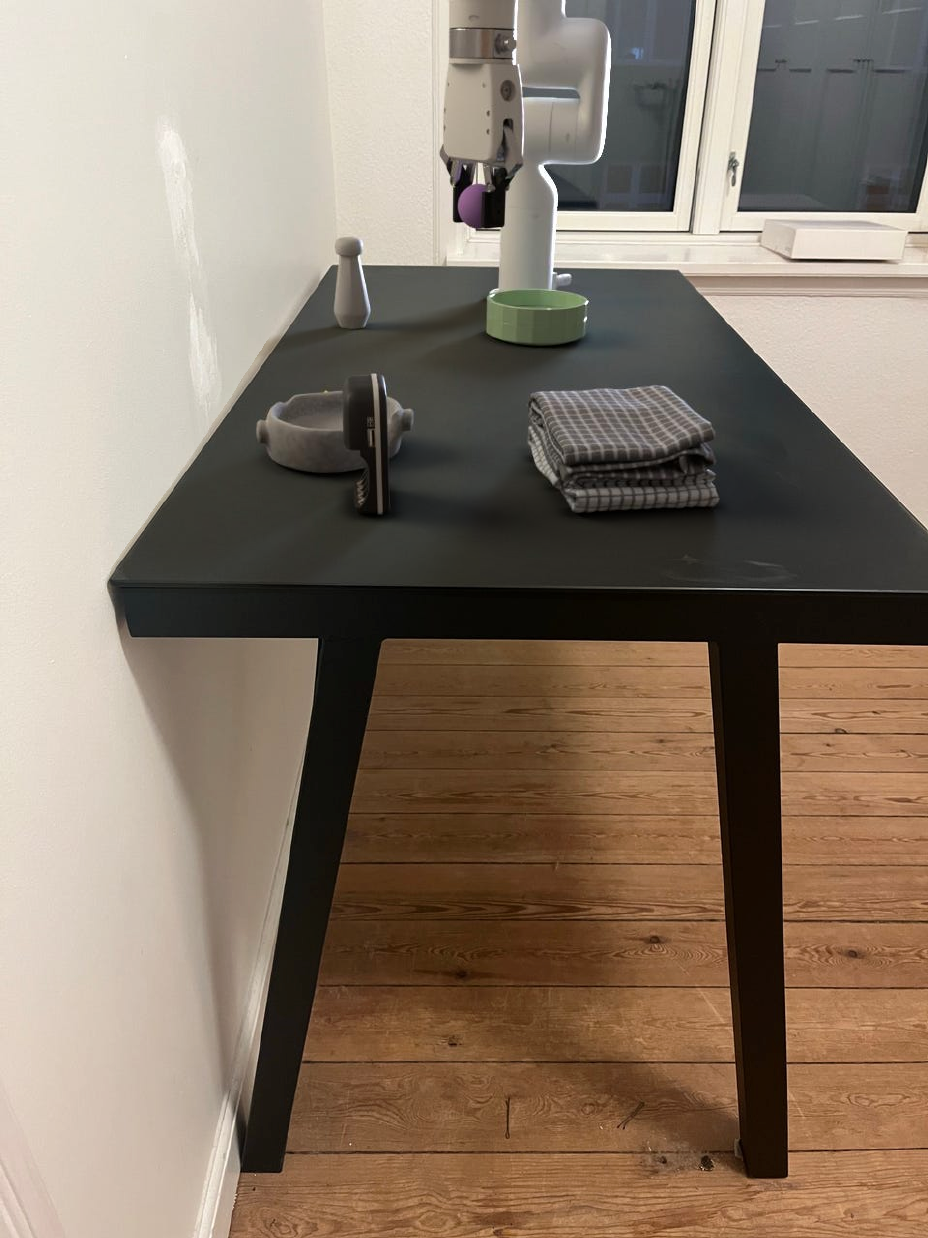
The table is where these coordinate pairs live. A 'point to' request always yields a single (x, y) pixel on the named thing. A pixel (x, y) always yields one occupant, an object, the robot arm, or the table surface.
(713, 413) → the table surface
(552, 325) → the bowl
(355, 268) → the salt shaker
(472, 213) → the ball
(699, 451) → the towel
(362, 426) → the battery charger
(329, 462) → the dish
